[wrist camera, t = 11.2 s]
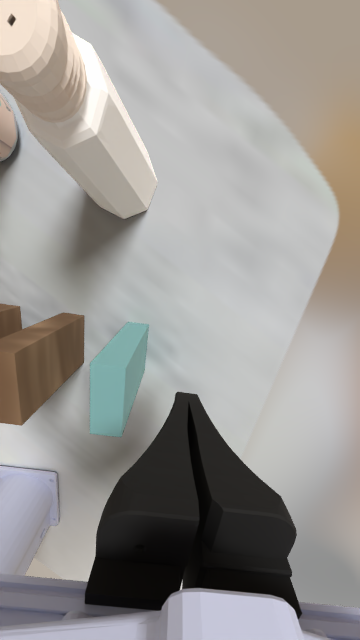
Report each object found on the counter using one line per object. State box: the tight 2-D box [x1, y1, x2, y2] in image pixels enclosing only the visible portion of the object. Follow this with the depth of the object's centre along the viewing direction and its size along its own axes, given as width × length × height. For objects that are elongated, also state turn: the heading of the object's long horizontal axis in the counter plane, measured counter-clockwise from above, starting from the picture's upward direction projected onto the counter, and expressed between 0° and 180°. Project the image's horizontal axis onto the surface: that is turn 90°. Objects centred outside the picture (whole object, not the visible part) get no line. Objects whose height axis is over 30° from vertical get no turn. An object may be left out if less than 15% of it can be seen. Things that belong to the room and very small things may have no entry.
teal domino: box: [90, 322, 149, 437], centre depth 15 cm, size 2×5×8 cm, turn 172°
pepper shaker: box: [0, 0, 158, 219], centre depth 10 cm, size 5×5×11 cm
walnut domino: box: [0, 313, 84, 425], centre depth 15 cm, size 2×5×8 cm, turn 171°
